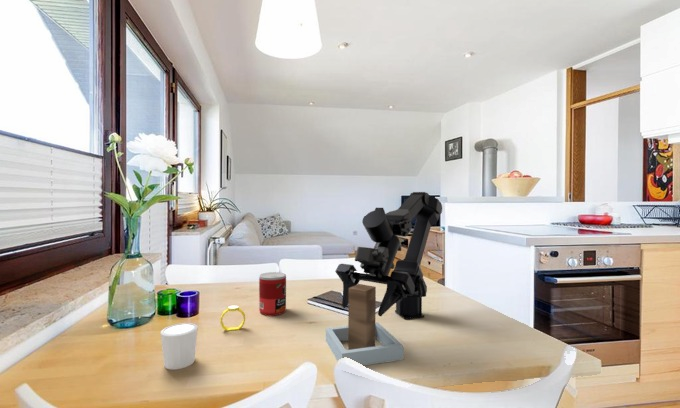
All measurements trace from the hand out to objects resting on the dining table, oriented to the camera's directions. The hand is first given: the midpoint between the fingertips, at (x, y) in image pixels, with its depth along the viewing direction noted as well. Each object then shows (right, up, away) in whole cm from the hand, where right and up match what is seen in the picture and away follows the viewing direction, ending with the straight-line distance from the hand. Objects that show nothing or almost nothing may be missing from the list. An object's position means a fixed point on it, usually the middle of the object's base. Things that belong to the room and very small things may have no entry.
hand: (360, 311), depth 73 cm
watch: (-32, -9, +12) cm, 35 cm away
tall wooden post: (0, -9, +1) cm, 9 cm away
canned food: (-25, -9, +26) cm, 37 cm away
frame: (0, -9, +1) cm, 9 cm away
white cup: (-37, -9, -5) cm, 39 cm away
